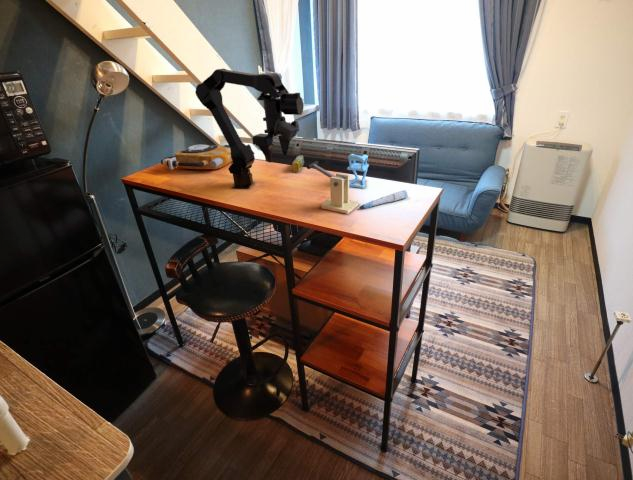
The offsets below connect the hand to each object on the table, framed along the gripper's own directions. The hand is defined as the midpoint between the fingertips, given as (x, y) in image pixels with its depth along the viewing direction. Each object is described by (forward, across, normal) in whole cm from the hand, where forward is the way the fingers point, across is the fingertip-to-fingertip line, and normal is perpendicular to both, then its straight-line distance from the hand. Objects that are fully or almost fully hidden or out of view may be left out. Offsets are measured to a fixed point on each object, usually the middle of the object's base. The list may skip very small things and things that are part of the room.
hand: (277, 158), depth 126 cm
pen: (+12, +6, -40) cm, 42 cm away
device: (+12, +6, +50) cm, 52 cm away
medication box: (+12, +24, +8) cm, 28 cm away
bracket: (+12, -3, -28) cm, 30 cm away
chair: (+12, +18, -24) cm, 32 cm away
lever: (+2, -3, -22) cm, 23 cm away
